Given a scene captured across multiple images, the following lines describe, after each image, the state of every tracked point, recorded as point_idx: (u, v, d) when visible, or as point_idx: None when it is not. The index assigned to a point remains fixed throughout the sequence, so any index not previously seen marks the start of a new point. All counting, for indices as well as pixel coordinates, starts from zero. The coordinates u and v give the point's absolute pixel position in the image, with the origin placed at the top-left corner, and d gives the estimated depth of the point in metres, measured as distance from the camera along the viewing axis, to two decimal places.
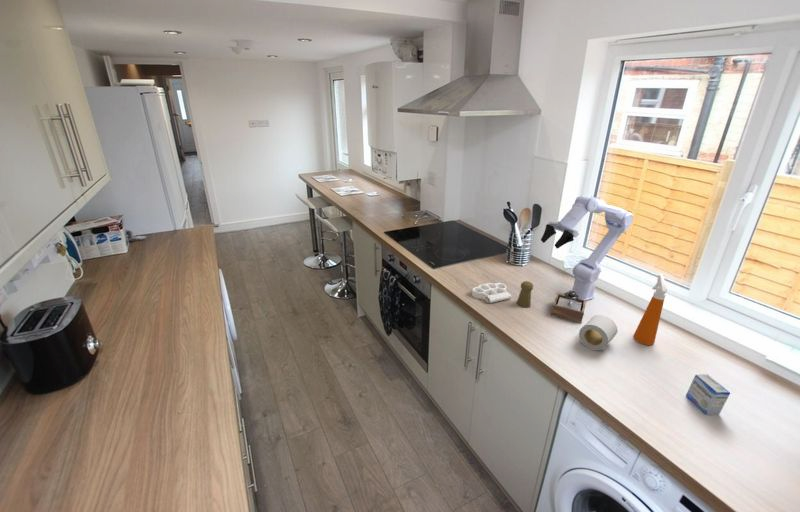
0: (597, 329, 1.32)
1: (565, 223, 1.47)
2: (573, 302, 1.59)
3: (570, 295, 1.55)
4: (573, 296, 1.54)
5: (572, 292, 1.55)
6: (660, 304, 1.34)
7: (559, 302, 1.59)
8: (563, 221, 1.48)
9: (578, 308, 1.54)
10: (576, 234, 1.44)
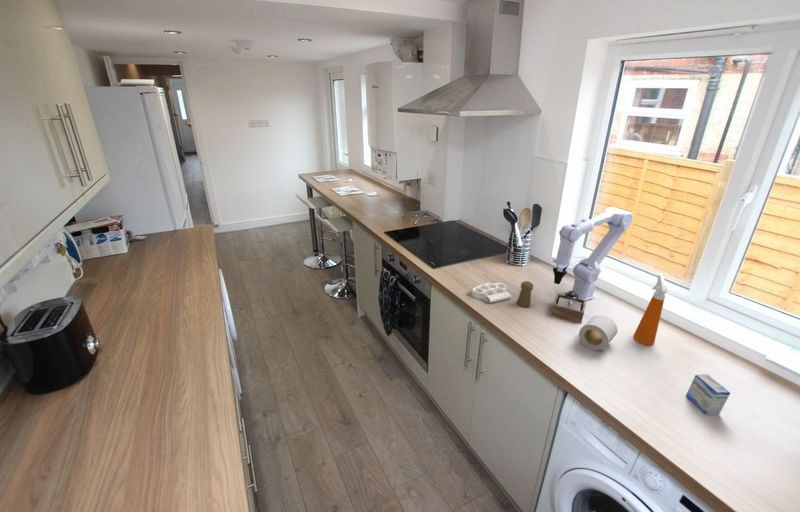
0: (597, 329, 1.32)
1: (556, 260, 1.60)
2: (573, 302, 1.59)
3: (570, 295, 1.55)
4: (573, 296, 1.54)
5: (572, 292, 1.55)
6: (660, 304, 1.34)
7: (559, 302, 1.59)
8: (556, 258, 1.61)
9: (578, 308, 1.54)
10: (559, 269, 1.55)
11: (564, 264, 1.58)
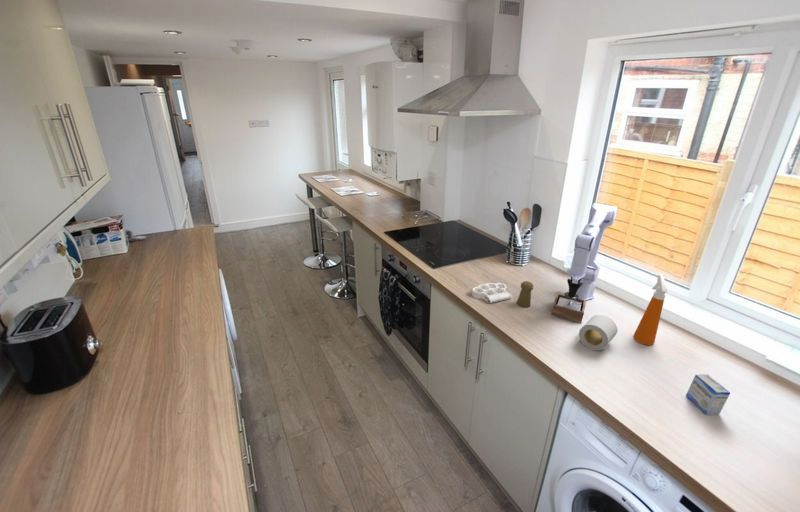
0: (597, 329, 1.32)
1: (571, 270, 1.51)
2: (573, 302, 1.59)
3: None
4: None
5: None
6: (660, 304, 1.34)
7: (559, 302, 1.59)
8: None
9: (578, 308, 1.54)
10: (575, 281, 1.46)
11: (579, 275, 1.49)
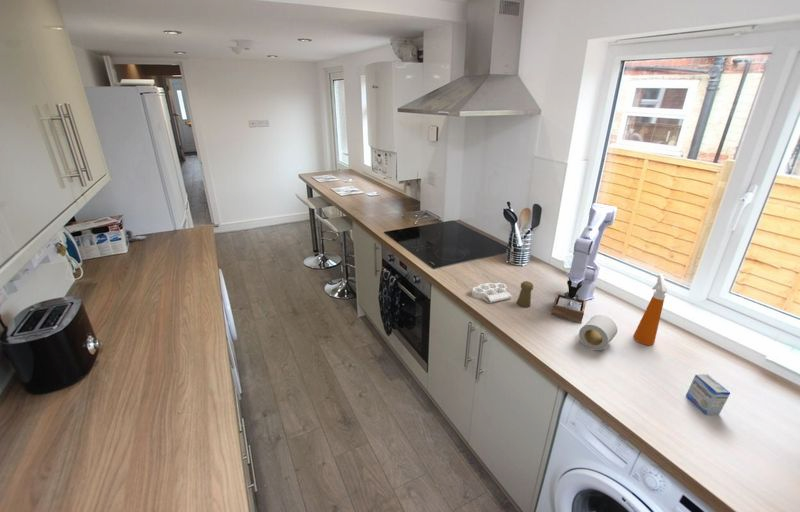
0: (597, 329, 1.32)
1: (570, 274, 1.52)
2: (573, 302, 1.59)
3: None
4: None
5: None
6: (660, 304, 1.34)
7: (559, 302, 1.59)
8: None
9: (578, 308, 1.54)
10: (574, 284, 1.47)
11: (578, 278, 1.50)
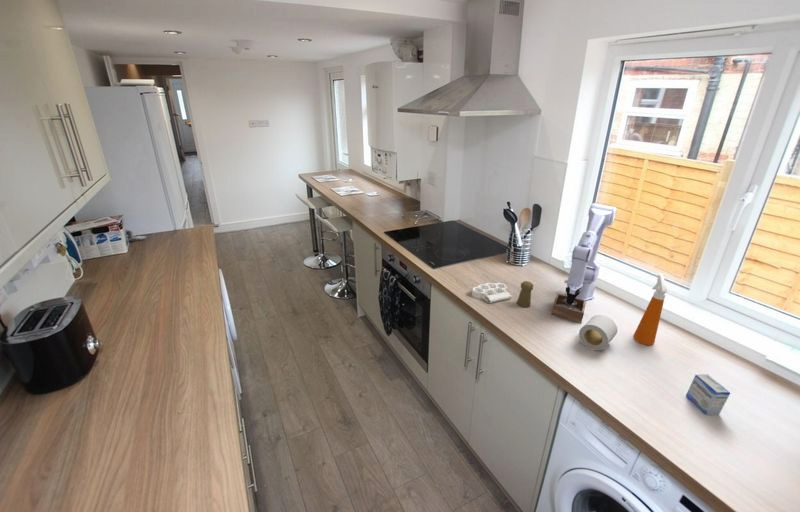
0: (597, 329, 1.32)
1: (568, 281, 1.53)
2: (571, 308, 1.60)
3: None
4: None
5: None
6: (660, 304, 1.34)
7: None
8: (568, 279, 1.54)
9: None
10: (572, 291, 1.48)
11: (576, 286, 1.51)
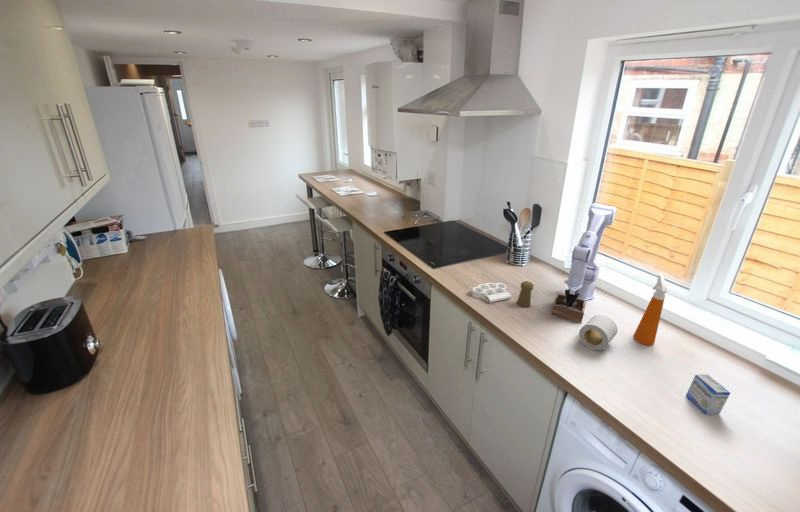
0: (597, 329, 1.32)
1: (568, 281, 1.53)
2: (571, 308, 1.60)
3: None
4: None
5: None
6: (660, 304, 1.34)
7: None
8: (568, 279, 1.54)
9: None
10: (572, 292, 1.48)
11: (576, 286, 1.51)
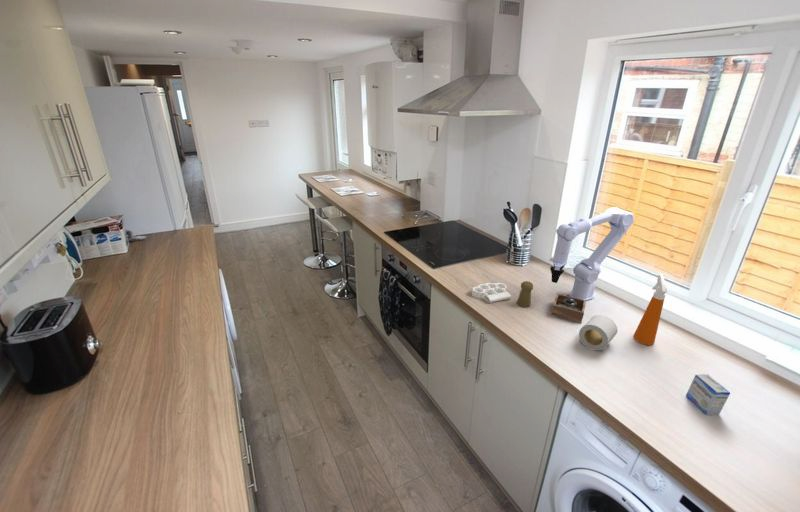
0: (597, 329, 1.32)
1: (553, 258, 1.62)
2: (571, 308, 1.60)
3: (568, 301, 1.56)
4: (571, 302, 1.56)
5: (570, 298, 1.57)
6: (660, 304, 1.34)
7: None
8: (553, 257, 1.63)
9: None
10: (557, 268, 1.57)
11: (561, 263, 1.60)
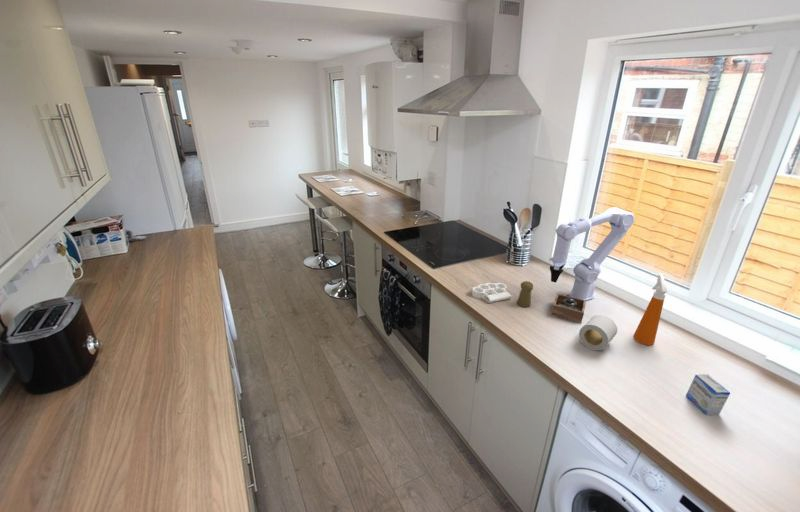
0: (597, 329, 1.32)
1: (553, 258, 1.62)
2: (571, 308, 1.60)
3: (568, 301, 1.56)
4: (571, 302, 1.56)
5: (570, 298, 1.57)
6: (660, 304, 1.34)
7: None
8: (553, 256, 1.63)
9: None
10: (556, 267, 1.57)
11: (561, 262, 1.60)
